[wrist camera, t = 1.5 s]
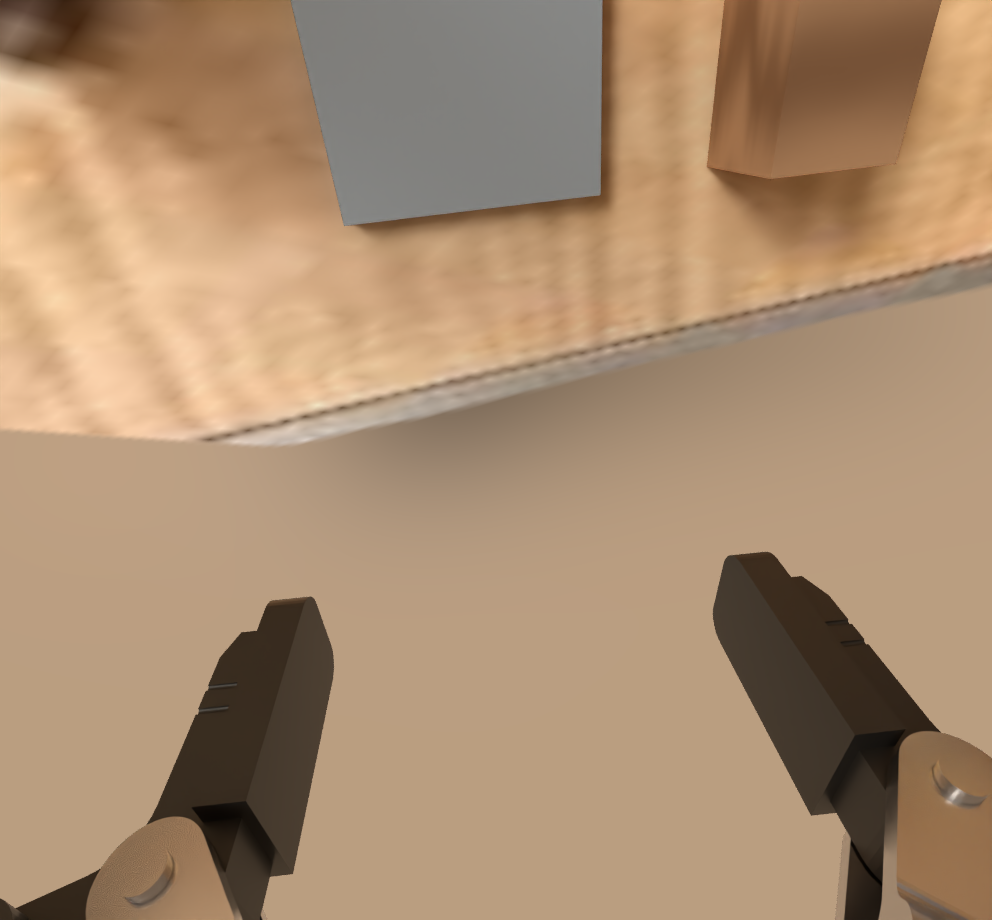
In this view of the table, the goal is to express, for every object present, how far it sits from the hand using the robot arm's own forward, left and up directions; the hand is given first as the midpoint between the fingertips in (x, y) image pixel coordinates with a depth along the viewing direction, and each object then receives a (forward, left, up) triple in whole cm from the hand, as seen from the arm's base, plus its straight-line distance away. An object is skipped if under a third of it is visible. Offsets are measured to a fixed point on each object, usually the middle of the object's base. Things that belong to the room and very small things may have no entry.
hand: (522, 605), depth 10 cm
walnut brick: (-8, +14, -21) cm, 27 cm away
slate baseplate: (-10, 0, -21) cm, 23 cm away
